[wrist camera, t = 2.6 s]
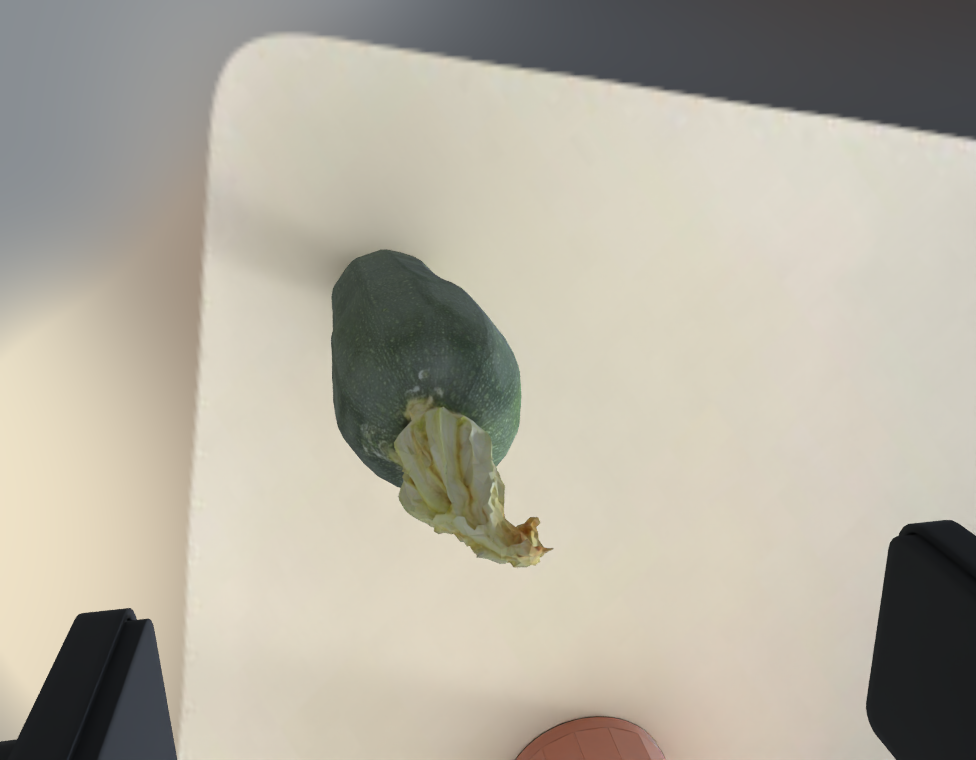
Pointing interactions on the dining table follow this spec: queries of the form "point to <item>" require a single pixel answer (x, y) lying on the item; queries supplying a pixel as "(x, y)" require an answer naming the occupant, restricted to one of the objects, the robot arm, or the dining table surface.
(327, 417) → the dining table surface
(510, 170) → the dining table surface
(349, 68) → the dining table surface
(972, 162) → the dining table surface
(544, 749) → the cup
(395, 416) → the vegetable
